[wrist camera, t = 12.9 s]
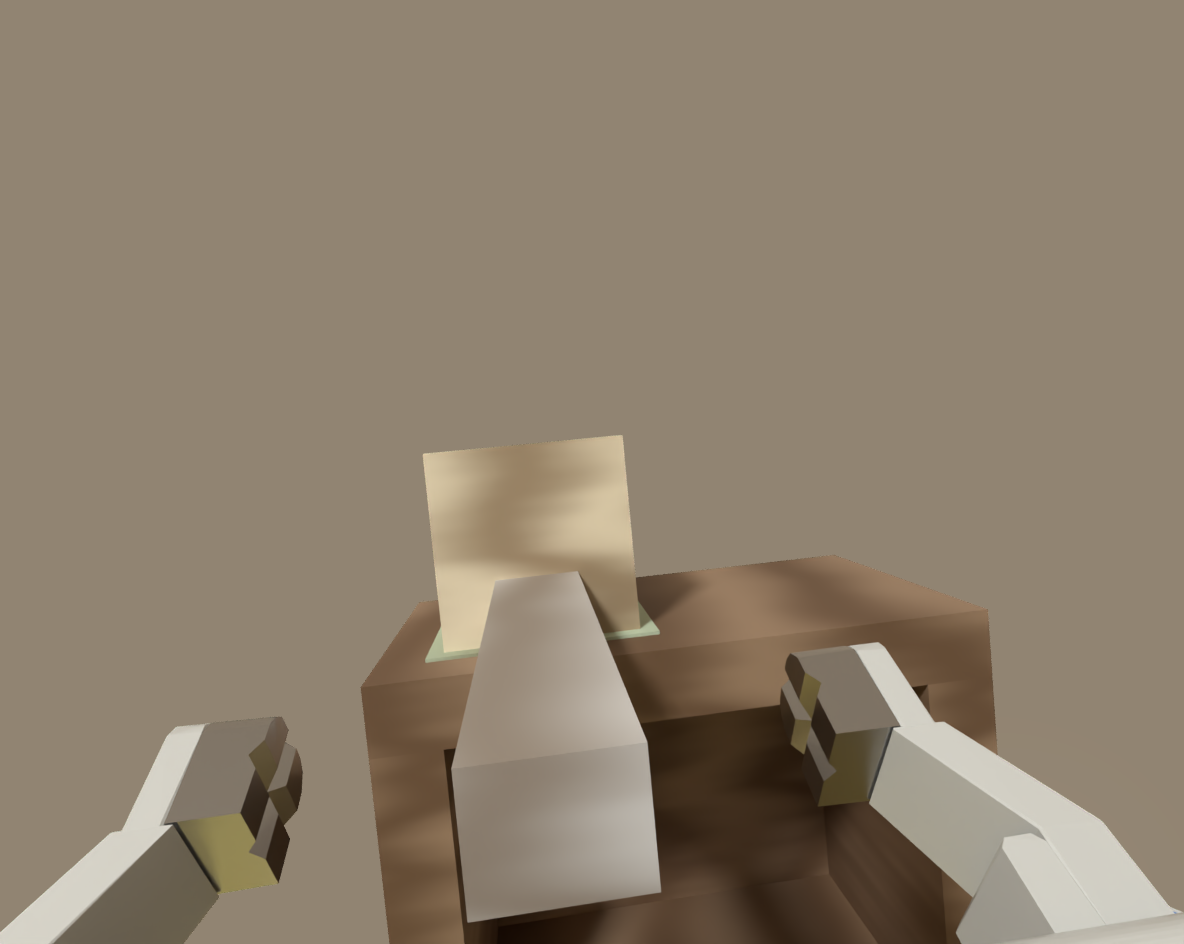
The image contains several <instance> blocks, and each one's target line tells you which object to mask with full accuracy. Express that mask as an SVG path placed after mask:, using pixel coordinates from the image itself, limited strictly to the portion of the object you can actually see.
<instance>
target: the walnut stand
mask: <svg viewBox="0 0 1184 944" xmlns="http://www.w3.org/2000/svg"><path fill="white" fill-rule="evenodd" d="M636 587H637V598H638V609H639V619H640V629H635V630H627V631H619V632H610V633H603V634H604V637H605V639H606V642H607V644H608V647H609V649H610V651H611V654H612V656H613V659H614V661H615V664H616V666H617V669H618V671H619V674H620V676H621V679H622V681H623V683H624V686H625V688H626V691H627V693H628V696H629V698H630V701H631V703H632V706H633V708H634V711H635V713H636V715H637V718H638V720H639V723H640V725H641V728H642V730H643V733H644V735H645V738H646V740H647V744H648V754H649V765H650V776H651V787H652V798H653V808H654V819H655V830H656V841H657V852H658V862H659V873H660V884H661V892H660V893H653V894H647V895H640V896H634V897H628V898H621V899H615V900H609V901H602V902H596V903H590V904H583V905H577V906H571V907H564V908H558V909H552V910H545V911H539V912H533V913H526V914H520V915H513V916H507V917H501V918H494V919H488V920H482V921H475V922H469V923H468V921H467V912H466V902H465V893H464V884H463V874H462V865H461V856H460V846H459V837H458V827H457V818H456V809H455V799H454V790H453V781H452V771H451V768H452V764H453V760H454V755H455V751H456V747H457V743H458V738H459V734H460V730H461V726H462V721H463V717H464V713H465V709H466V704H467V700H468V696H469V692H470V687H471V683H472V679H473V675H474V670H475V666H476V662H477V658H478V653H479V649H480V648H478V649H470V650H462V651H453V652H445V653H444V649H443V640H442V630H441V621H440V611H439V602H438V600H435V601H427V602H420V603H419V604H418V605H417V607H416V608H415V610H414V611H413V612H412V614H411V615H410V617H409V618H408V620H407V621H406V623H405V624H404V625H403V627H402V628H401V630H400V631H399V633H398V634H397V636H396V637H395V639H394V640H393V641H392V643H391V644H390V646H389V647H388V649H387V650H386V652H385V653H384V655H383V656H382V658H381V659H380V660H379V662H378V663H377V665H376V666H375V668H374V669H373V670H372V672H371V673H370V675H369V676H368V678H367V679H366V681H365V682H364V683H363V685H362V686H361V693H362V702H363V711H364V720H365V729H366V738H367V746H368V756H369V765H370V774H371V783H372V791H373V801H374V809H375V818H376V827H377V835H378V845H379V854H380V862H381V871H382V881H383V890H384V898H385V907H386V916H387V924H388V934H389V942H390V944H961V942H960V940H959V938H958V936H957V934H956V931H957V928H958V926H959V923H960V921H961V919H962V917H963V915H964V913H965V911H966V909H967V908H968V906H969V904H970V902H971V900H972V898H973V897H972V896H971V895H969V894H968V893H967V892H966V891H965V890H964V889H963V888H962V887H961V886H959V885H958V884H957V883H956V882H955V881H954V880H953V879H952V878H951V877H950V876H948V875H947V874H946V873H945V872H944V871H943V870H942V869H941V868H940V867H939V866H937V865H936V864H935V863H934V862H933V861H932V860H931V859H930V858H929V857H927V856H926V855H925V854H924V853H923V852H922V851H921V850H920V849H919V848H918V847H916V846H915V845H914V844H913V843H912V842H911V841H910V840H909V839H908V838H907V837H905V836H904V835H903V834H902V833H901V832H900V831H899V830H898V829H897V828H895V827H894V826H893V825H892V824H891V823H890V822H889V821H888V820H887V819H886V818H884V817H883V816H882V815H881V814H880V813H879V812H878V811H877V810H876V809H874V808H873V807H872V806H871V805H870V804H869V802H870V801H863V802H854V803H846V804H837V805H828V806H819V807H818V806H817V804H816V801H815V799H814V797H813V794H812V792H811V790H810V788H809V785H808V783H807V781H806V779H805V776H804V774H803V772H802V769H801V768H802V763H803V758H804V754H803V753H801V752H800V751H799V750H798V749H796V748H795V747H794V746H792V745H791V744H790V741H789V739H788V736H787V734H786V732H785V728H784V725H783V721H782V718H781V709H780V694H781V687H782V686H783V685H784V684H785V683H786V682H787V681H788V680H789V677H788V675H787V673H786V671H785V664H786V659H787V657H788V656H789V655H790V653H795V652H803V651H810V650H817V649H825V648H832V647H840V646H852V645H860V644H868V643H876V642H879V643H880V644H881V645H883V646H884V647H885V648H886V650H887V651H888V653H889V654H890V656H891V657H892V659H893V660H894V662H895V663H896V665H897V666H898V668H899V669H900V671H901V672H902V674H903V675H904V677H905V678H906V680H907V681H908V683H909V684H910V686H911V687H912V689H913V690H914V692H915V693H916V695H917V696H918V698H919V699H920V701H921V702H922V704H923V705H924V707H925V708H926V710H927V711H928V713H929V714H930V716H931V717H932V719H933V720H934V722H945V723H947V724H949V725H950V726H952V727H953V728H955V729H957V730H958V731H960V732H961V733H963V734H965V735H966V736H968V737H969V738H971V739H972V740H974V741H976V742H977V743H979V744H980V745H982V746H984V747H985V748H987V749H988V750H990V751H992V752H993V753H995V754H996V755H998V754H997V739H996V726H995V725H996V724H995V709H994V695H993V681H992V666H991V650H990V636H989V621H988V609H985V608H982V607H979V606H977V605H974V604H971V603H968V602H965V601H962V600H960V599H957V598H954V597H951V596H948V595H946V594H943V593H940V592H937V591H934V590H931V589H929V588H926V587H923V586H920V585H917V584H914V583H912V582H909V581H906V580H903V579H900V578H898V577H895V576H892V575H889V574H886V573H883V572H881V571H877V570H875V569H872V568H869V567H867V566H864V565H861V564H858V563H855V562H852V561H850V560H847V559H844V558H841V557H838V556H835V555H830V556H822V557H812V558H804V559H796V560H786V561H777V562H769V563H760V564H751V565H742V566H733V567H725V568H716V569H707V570H699V571H690V572H681V573H672V574H663V575H654V576H646V577H638V578H636Z"/></svg>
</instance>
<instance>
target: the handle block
mask: <svg viewBox="0 0 1184 944" xmlns="http://www.w3.org/2000/svg"><path fill="white" fill-rule="evenodd" d="M423 461H424V470H425V480H426V489H427V498H428V508H429V517H430V527H431V535H432V546H433V555H434V564H435V574H436V583H437V593H438V602H439V611H440V621H441V630H442V640H443V649H444V653H445V652H453V651H462V650H470V649H478V648H480V649H479V653H478V658H477V662H476V666H475V670H474V675H473V679H472V683H471V687H470V692H469V696H468V700H467V704H466V709H465V713H464V717H463V721H462V726H461V730H460V734H459V738H458V743H457V747H456V751H455V755H454V760H453V764H452V768H451V771H452V781H453V790H454V799H455V809H456V818H457V827H458V837H459V846H460V856H461V865H462V874H463V884H464V893H465V902H466V912H467V921H468V923H469V922H475V921H482V920H488V919H494V918H501V917H507V916H513V915H520V914H526V913H533V912H539V911H545V910H552V909H558V908H564V907H571V906H577V905H583V904H590V903H596V902H602V901H609V900H615V899H621V898H628V897H634V896H640V895H647V894H653V893H660V892H661V884H660V873H659V862H658V852H657V841H656V830H655V819H654V808H653V798H652V787H651V776H650V765H649V754H648V744H647V740H646V738H645V735H644V733H643V730H642V728H641V725H640V723H639V720H638V718H637V715H636V713H635V711H634V708H633V706H632V703H631V701H630V698H629V696H628V693H627V691H626V688H625V686H624V683H623V681H622V679H621V676H620V674H619V671H618V669H617V666H616V664H615V661H614V659H613V656H612V654H611V651H610V649H609V647H608V644H607V642H606V639H605V637H604V634H603V633H610V632H619V631H627V630H635V629H640V619H639V609H638V598H637V587H636V577H635V565H634V555H633V544H632V533H631V522H630V511H629V500H628V489H627V479H626V468H625V457H624V447H623V436H622V435H618V436H609V437H608V436H607V437H597V438H586V439H576V440H565V441H556V442H555V441H554V442H544V443H533V444H523V445H512V446H501V447H491V448H480V449H470V450H460V451H448V452H439V453H427V454H423Z"/></svg>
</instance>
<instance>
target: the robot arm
mask: <svg viewBox="0 0 1184 944" xmlns="http://www.w3.org/2000/svg"><path fill="white" fill-rule="evenodd" d="M785 671H786V673H787V675H788V677H789V680H788V681H787V682H786V683H785V684H784V685H783V686H782V687H781V694H780V709H781V718H782V721H783V725H784V728H785V732H786V734H787V736H788V739H789V741H790V744H791V745H792V746H794V747H795V748H796V749H798V750H799V751H800V752H801V753H803V754H804V758H803V763H802V768H801V769H802V772H803V774H804V776H805V779H806V781H807V783H808V785H809V788H810V790H811V792H812V794H813V797H814V799H815V801H816V804H817V806H818V807H819V806H828V805H837V804H846V803H854V802H863V801H870V802H869V804H870V805H871V806H872V807H873V808H874V809H876V810H877V811H878V812H879V813H880V814H881V815H882V816H883V817H884V818H886V819H887V820H888V821H889V822H890V823H891V824H892V825H893V826H894V827H895V828H897V829H898V830H899V831H900V832H901V833H902V834H903V835H904V836H905V837H907V838H908V839H909V840H910V841H911V842H912V843H913V844H914V845H915V846H916V847H918V848H919V849H920V850H921V851H922V852H923V853H924V854H925V855H926V856H927V857H929V858H930V859H931V860H932V861H933V862H934V863H935V864H936V865H937V866H939V867H940V868H941V869H942V870H943V871H944V872H945V873H946V874H947V875H948V876H950V877H951V878H952V879H953V880H954V881H955V882H956V883H957V884H958V885H959V886H961V887H962V888H963V889H964V890H965V891H966V892H967V893H968V894H969V895H971V896H972V897H973V898H972V900H971V902H970V904H969V906H968V908H967V909H966V911H965V913H964V915H963V917H962V919H961V921H960V923H959V926H958V928H957V931H956V934H957V936H958V938H959V940H960V942H961V944H1184V912H1181V913H1174V912H1173V911H1172V909H1171V908H1170V907H1169V906H1168V904H1167V903H1166V902H1165V901H1164V899H1163V898H1162V897H1161V896H1160V894H1159V893H1158V892H1157V890H1156V889H1155V888H1154V887H1153V885H1152V884H1151V883H1150V882H1149V880H1148V879H1147V878H1146V876H1145V875H1144V874H1143V873H1142V871H1141V870H1140V869H1139V868H1138V866H1137V865H1136V864H1135V862H1134V861H1133V860H1132V859H1131V857H1130V856H1129V855H1128V854H1127V852H1126V851H1125V850H1124V849H1123V847H1122V846H1121V845H1120V844H1119V842H1118V841H1117V840H1116V838H1115V837H1114V836H1113V834H1112V833H1111V832H1110V831H1109V829H1108V828H1107V827H1106V826H1105V824H1104V823H1103V822H1102V821H1101V820H1100V819H1098V818H1096V817H1095V816H1093V815H1092V814H1090V813H1089V812H1087V811H1085V810H1084V809H1082V808H1081V807H1079V806H1078V805H1076V804H1074V803H1073V802H1071V801H1070V800H1068V799H1066V798H1065V797H1063V796H1061V795H1060V794H1058V793H1057V792H1055V791H1054V790H1052V789H1050V788H1049V787H1047V786H1045V785H1044V784H1043V783H1041V782H1039V781H1038V780H1036V779H1034V778H1033V777H1031V776H1030V775H1028V774H1027V773H1025V772H1023V771H1022V770H1020V769H1019V768H1017V767H1015V766H1014V765H1012V764H1011V763H1009V762H1007V761H1006V760H1004V759H1003V758H1001V757H999V756H998V755H996V754H995V753H993V752H992V751H990V750H988V749H987V748H985V747H984V746H982V745H980V744H979V743H977V742H976V741H974V740H972V739H971V738H969V737H968V736H966V735H965V734H963V733H961V732H960V731H958V730H957V729H955V728H953V727H952V726H950V725H949V724H947V723H945V722H934V720H933V719H932V717H931V716H930V714H929V713H928V711H927V710H926V708H925V707H924V705H923V704H922V702H921V701H920V699H919V698H918V696H917V695H916V693H915V692H914V690H913V689H912V687H911V686H910V684H909V683H908V681H907V680H906V678H905V677H904V675H903V674H902V672H901V671H900V669H899V668H898V666H897V665H896V663H895V662H894V660H893V659H892V657H891V656H890V654H889V653H888V651H887V650H886V648H885V647H884V646H883V645H881V644H880V643H879V642H876V643H868V644H860V645H852V646H840V647H832V648H825V649H817V650H810V651H803V652H795V653H790V655H789V656H788V657H787V659H786V664H785ZM287 734H288V728H287V726H286V724H285V722H284V720H283V718H282V717H269V718H258V719H248V720H237V721H226V722H216V723H208V724H198V725H189V726H181V727H176V728H175V729H174V730H173V731H172V732H171V733H170V734H169V735H168V736H167V737H166V739H165V741H164V743H163V745H162V747H161V750H160V752H159V754H158V756H157V758H156V760H155V762H154V764H153V766H152V768H151V771H150V773H149V775H148V777H147V779H146V781H145V783H144V786H143V787H142V789H141V792H140V794H139V796H138V798H137V800H136V802H135V804H134V806H133V808H132V811H131V813H130V815H129V817H128V819H127V821H126V823H125V825H124V827H123V829H122V831H118V832H112V833H110V834H109V835H108V836H107V837H106V838H105V839H103V840H102V841H101V842H100V843H99V844H98V845H97V846H96V847H95V848H93V849H92V850H91V851H90V852H89V853H88V854H87V855H86V856H85V857H83V858H82V859H81V860H80V861H79V862H78V863H77V864H76V865H75V866H74V867H72V868H71V869H70V870H69V871H68V872H67V873H66V874H65V875H63V876H62V877H61V878H60V879H59V880H58V881H57V882H56V883H55V884H53V885H52V886H51V887H50V888H49V889H48V890H47V891H46V892H45V893H44V894H42V895H41V896H40V897H39V898H38V899H37V900H36V901H35V902H34V903H32V904H31V905H30V906H29V907H28V908H27V909H26V910H25V911H23V912H22V913H21V914H20V915H19V916H18V917H17V918H16V919H15V920H14V921H12V922H11V923H10V924H9V925H8V926H7V927H6V928H5V929H3V930H2V931H1V932H0V944H184V942H185V941H186V940H187V938H188V937H189V936H190V934H191V933H192V932H193V931H194V929H195V928H196V927H197V925H198V924H199V923H200V922H201V920H202V919H203V918H204V916H205V915H206V914H207V912H208V911H209V910H210V908H211V907H212V906H213V905H214V903H215V902H216V900H218V898H219V895H218V894H220V893H226V892H232V891H238V890H243V889H249V888H255V887H261V886H267V885H273V884H278V883H279V879H280V876H281V872H282V868H283V864H284V860H285V856H286V852H287V848H288V845H289V841H290V838H289V836H288V834H287V832H286V829H285V827H284V825H285V823H286V822H287V821H288V820H289V819H290V818H291V817H292V816H293V815H294V813H295V812H296V811H297V809H298V805H299V801H300V796H301V792H302V773H303V772H302V766H301V760H300V757H299V754H298V752H297V749H296V748H294V747H293V746H291V745H289V744H287V743H286V742H285V741H286V737H287Z"/></svg>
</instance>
